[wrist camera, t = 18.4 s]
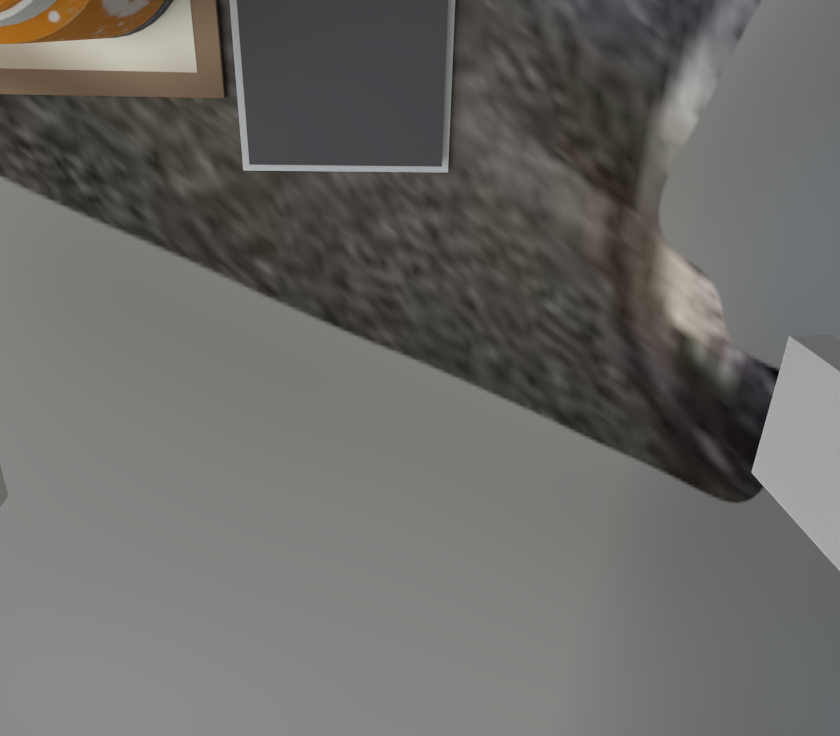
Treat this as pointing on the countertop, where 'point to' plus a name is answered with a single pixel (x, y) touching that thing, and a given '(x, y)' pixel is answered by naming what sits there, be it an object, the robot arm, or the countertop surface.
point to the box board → (126, 60)
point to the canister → (75, 19)
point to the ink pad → (344, 84)
